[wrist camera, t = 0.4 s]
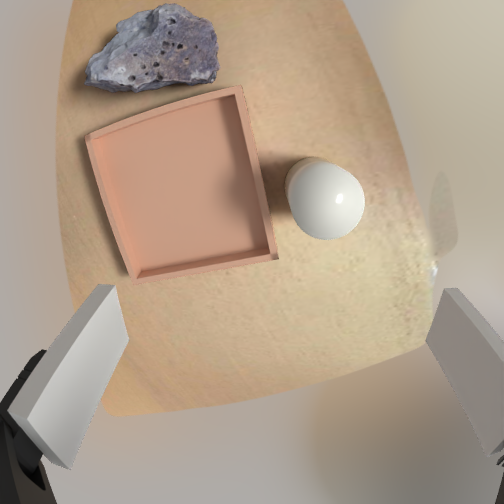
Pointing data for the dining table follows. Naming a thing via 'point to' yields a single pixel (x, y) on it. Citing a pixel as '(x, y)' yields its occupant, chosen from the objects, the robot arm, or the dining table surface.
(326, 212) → the white rounded cylinder
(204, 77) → the rock
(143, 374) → the dining table surface
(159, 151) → the dish
